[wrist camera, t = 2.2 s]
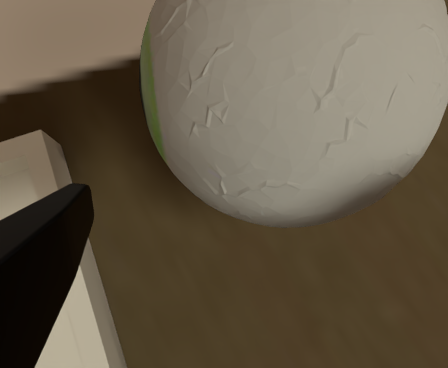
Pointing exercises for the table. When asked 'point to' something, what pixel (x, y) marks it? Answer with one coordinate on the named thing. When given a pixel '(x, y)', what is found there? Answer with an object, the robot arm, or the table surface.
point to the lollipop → (293, 100)
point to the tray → (87, 272)
